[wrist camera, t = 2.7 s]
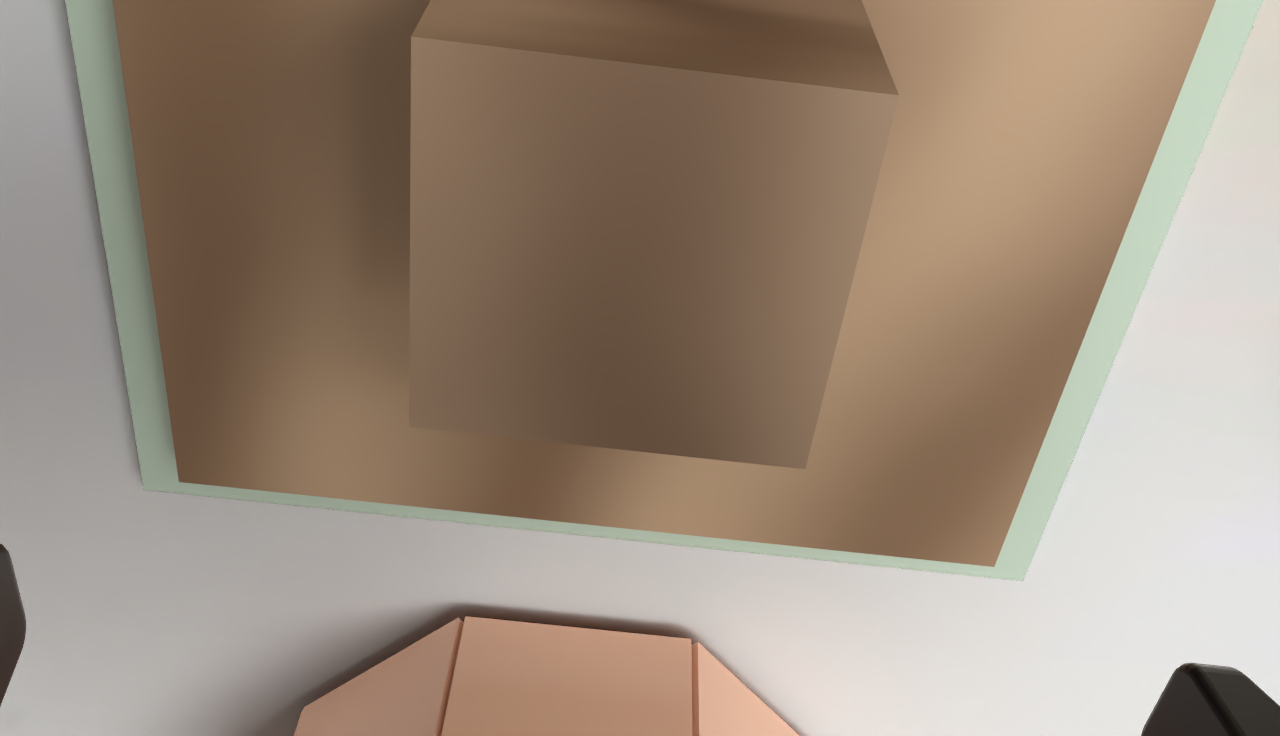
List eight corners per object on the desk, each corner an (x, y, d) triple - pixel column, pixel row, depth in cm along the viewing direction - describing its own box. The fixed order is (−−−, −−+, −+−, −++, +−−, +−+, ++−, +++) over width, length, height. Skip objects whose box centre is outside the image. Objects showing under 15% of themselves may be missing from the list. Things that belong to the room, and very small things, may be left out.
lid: (194, 451, 21) (95, 639, 17) (67, -559, 13) (-165, -596, 9) (985, 535, 21) (1044, 732, 18) (1330, -382, 13) (1562, -353, 10)
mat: (153, 472, 22) (143, 489, 21) (-24, -687, 13) (-47, -696, 12) (1016, 562, 22) (1022, 581, 22) (1437, -477, 13) (1461, -478, 13)
